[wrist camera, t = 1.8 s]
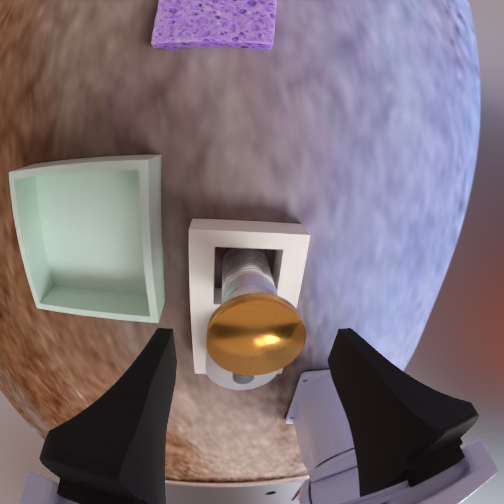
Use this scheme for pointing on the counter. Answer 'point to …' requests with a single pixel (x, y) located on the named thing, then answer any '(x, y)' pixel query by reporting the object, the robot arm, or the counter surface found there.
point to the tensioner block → (209, 298)
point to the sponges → (214, 24)
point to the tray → (93, 235)
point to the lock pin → (252, 318)
